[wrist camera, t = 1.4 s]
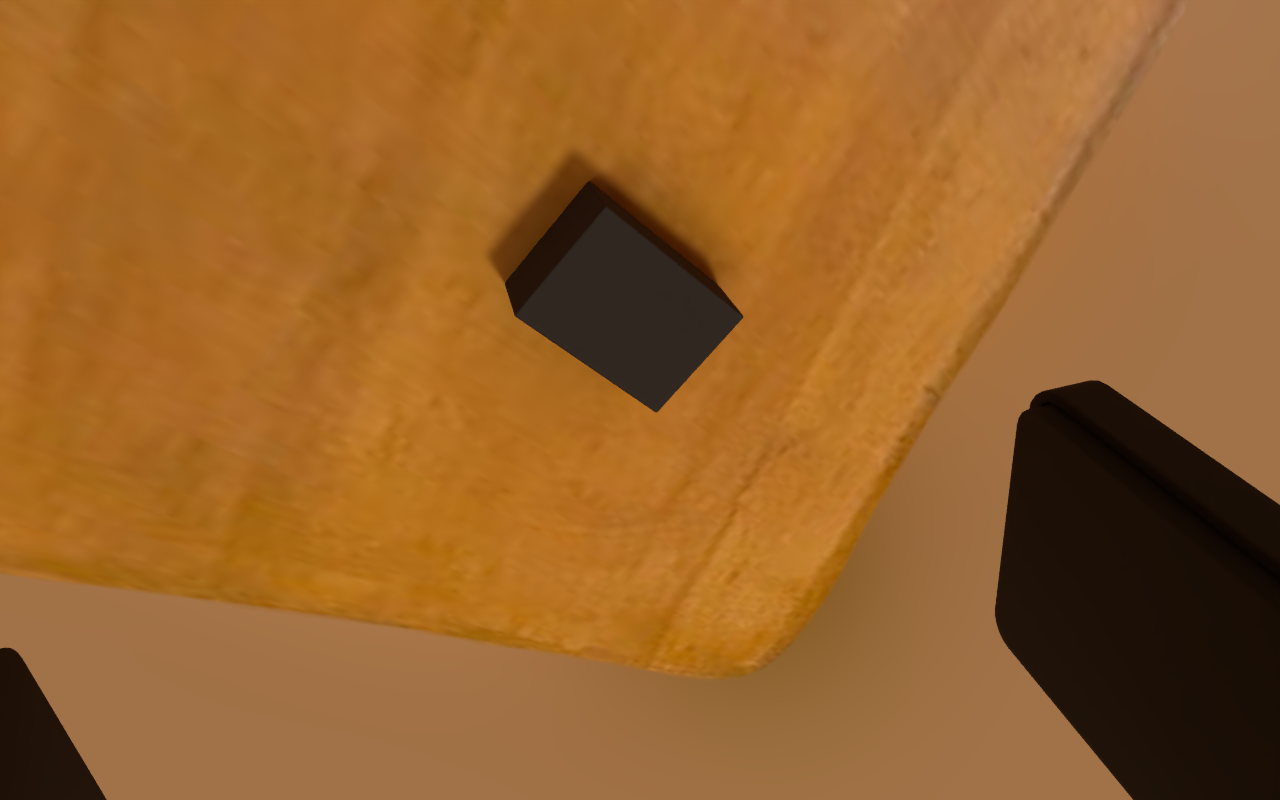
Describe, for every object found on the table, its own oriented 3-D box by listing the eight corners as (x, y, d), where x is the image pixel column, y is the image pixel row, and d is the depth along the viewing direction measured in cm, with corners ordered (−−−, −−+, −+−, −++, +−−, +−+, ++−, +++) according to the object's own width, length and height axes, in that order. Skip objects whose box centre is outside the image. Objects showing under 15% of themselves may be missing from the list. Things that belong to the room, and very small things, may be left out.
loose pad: (588, 180, 35) (606, 205, 32) (719, 286, 38) (744, 317, 35) (503, 283, 36) (514, 316, 33) (638, 377, 39) (656, 413, 37)
